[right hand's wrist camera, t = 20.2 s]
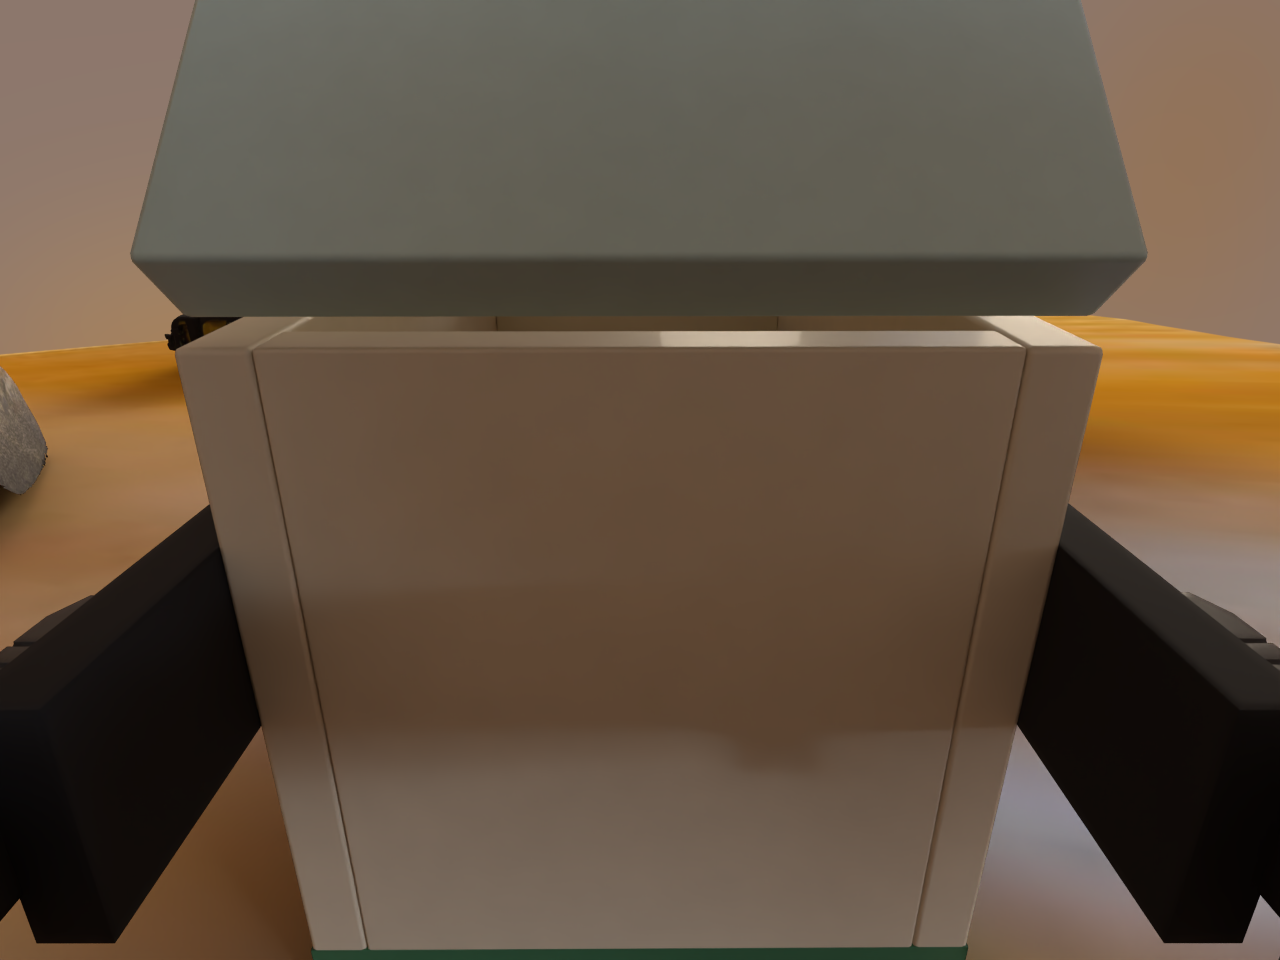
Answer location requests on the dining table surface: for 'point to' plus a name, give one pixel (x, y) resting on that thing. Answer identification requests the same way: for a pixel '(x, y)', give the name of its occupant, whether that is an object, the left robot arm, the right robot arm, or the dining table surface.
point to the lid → (638, 160)
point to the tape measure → (194, 329)
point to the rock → (18, 439)
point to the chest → (639, 619)
